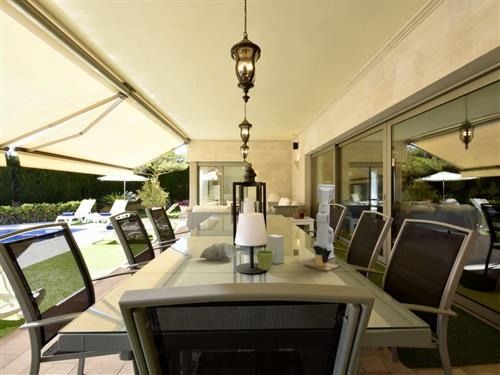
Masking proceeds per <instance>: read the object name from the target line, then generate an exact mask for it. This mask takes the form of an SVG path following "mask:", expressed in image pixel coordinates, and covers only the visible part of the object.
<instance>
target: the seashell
mask: <svg viewBox="0 0 500 375" xmlns="http://www.w3.org/2000/svg"><path fill="white" fill-rule="evenodd" d="M236 253H237V252H236V248H235V247H234V245H233V244H232V243H229V242H222V243H213V244H212V245H211V246H208V247H207V248H204V249H203V251H202V252H201V254H200V256H199V258H200V259H204V260H206V261H208V262H209V261H215V260H217V261H223V260H224V261H225V260H230V261H231V260H232V259H234V258H235V257H236V256H237V254H236Z"/></svg>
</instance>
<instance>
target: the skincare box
mask: <svg viewBox="0 0 500 375" xmlns="http://www.w3.org/2000/svg"><path fill="white" fill-rule="evenodd" d="M266 237H267V239H266V240H267V243H266V244H267V250H269V251H273V252H274V254H273V257H272V262H271V264H275V265H278V264H280V265H281V264H284V263H285V242H284V241H285V238H284V235H279V234H267V236H266Z"/></svg>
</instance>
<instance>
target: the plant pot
mask: <svg viewBox="0 0 500 375" xmlns="http://www.w3.org/2000/svg"><path fill="white" fill-rule="evenodd" d="M254 253H255V255H256V258H257V269H258V268H260V269H265V271H270V270H271V267H272V257H273V254H274V252H273V251H269V250H268V249H266V250H265V249H261V250H256V251H255V252H254Z"/></svg>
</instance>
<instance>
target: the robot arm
mask: <svg viewBox="0 0 500 375" xmlns="http://www.w3.org/2000/svg"><path fill="white" fill-rule="evenodd" d="M335 192H336V186H335V185H334V184H318V185H317V196H318V198H319V199H321V200H320V201H321V203H319V205H318V212H317V213H316V217H315V218H316V220H315V222H316V227H317V228H316V239H315V240H316V241H313V245H314V246H312V248H313V250H314V253H315V256H316V255H317V254H322V261H323V263H328V260H330V259H334V258H335V257H336V256H335V255H334V252H335V251H334V249H335V248H334V245H333V243H334V239H335V238H334V236H335V234H334V229H333V228H332V227H330V218H331V217H330V211H331V210H330V206H331V201H332V200H333V199H335V195H336V194H335Z"/></svg>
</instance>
